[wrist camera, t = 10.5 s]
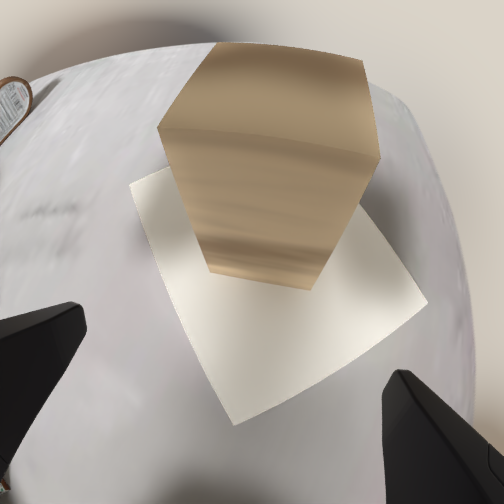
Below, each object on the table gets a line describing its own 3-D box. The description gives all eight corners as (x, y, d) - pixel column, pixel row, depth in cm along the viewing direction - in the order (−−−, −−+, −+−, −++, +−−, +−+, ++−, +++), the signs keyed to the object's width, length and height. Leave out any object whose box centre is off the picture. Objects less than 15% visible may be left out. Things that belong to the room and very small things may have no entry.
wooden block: (310, 290, 16) (380, 158, 7) (210, 272, 17) (157, 127, 7) (319, 206, 19) (362, 60, 9) (232, 191, 20) (217, 42, 10)
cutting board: (419, 307, 17) (428, 303, 16) (235, 422, 14) (234, 426, 13) (286, 132, 24) (287, 121, 23) (134, 193, 21) (129, 184, 20)
